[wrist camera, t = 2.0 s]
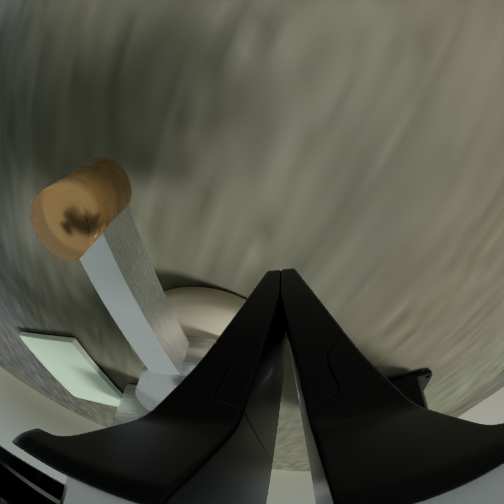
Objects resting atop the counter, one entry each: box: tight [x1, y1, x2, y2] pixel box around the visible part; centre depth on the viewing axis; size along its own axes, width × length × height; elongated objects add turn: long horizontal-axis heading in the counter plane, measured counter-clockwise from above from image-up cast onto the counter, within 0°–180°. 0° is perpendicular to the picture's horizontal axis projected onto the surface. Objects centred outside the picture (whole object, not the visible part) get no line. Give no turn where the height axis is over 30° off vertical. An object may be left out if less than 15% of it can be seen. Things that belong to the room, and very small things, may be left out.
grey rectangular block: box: [112, 384, 150, 426], centre depth 22 cm, size 4×4×6 cm
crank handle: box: [31, 158, 216, 411], centre depth 12 cm, size 17×7×5 cm, turn 10°
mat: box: [19, 332, 123, 407], centre depth 24 cm, size 12×10×1 cm
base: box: [130, 287, 246, 368], centre depth 18 cm, size 10×10×2 cm
